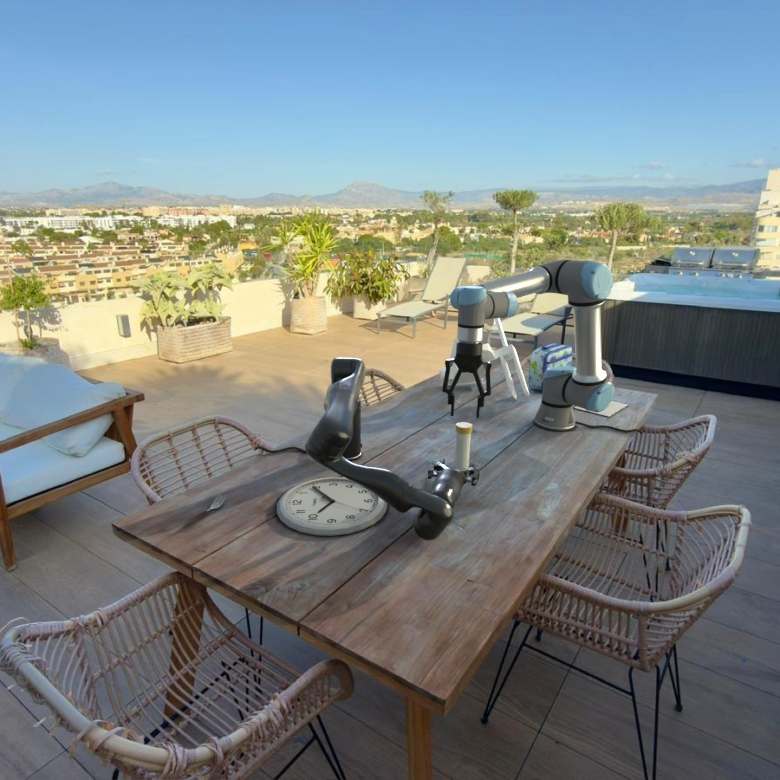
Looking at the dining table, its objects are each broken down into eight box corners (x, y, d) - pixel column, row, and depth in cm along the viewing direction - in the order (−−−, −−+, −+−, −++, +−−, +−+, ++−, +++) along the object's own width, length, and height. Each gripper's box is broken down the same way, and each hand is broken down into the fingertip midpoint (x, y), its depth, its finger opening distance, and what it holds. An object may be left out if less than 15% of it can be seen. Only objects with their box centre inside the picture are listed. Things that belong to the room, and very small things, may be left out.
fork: (178, 529, 130) (177, 522, 129) (219, 499, 144) (218, 493, 144) (187, 531, 129) (186, 524, 129) (227, 501, 143) (226, 494, 143)
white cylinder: (462, 476, 160) (465, 429, 156) (451, 472, 163) (454, 426, 159) (470, 472, 163) (474, 426, 159) (460, 468, 166) (462, 422, 161)
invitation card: (608, 416, 214) (573, 407, 224) (608, 416, 214) (573, 408, 224) (628, 404, 229) (594, 396, 238) (628, 405, 229) (594, 397, 238)
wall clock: (392, 527, 129) (268, 531, 127) (391, 533, 130) (269, 537, 127) (383, 473, 158) (282, 475, 155) (383, 478, 158) (282, 480, 156)
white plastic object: (461, 429, 252) (437, 405, 227) (444, 352, 274) (420, 323, 250) (535, 404, 240) (518, 377, 215) (510, 326, 262) (492, 293, 237)
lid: (465, 435, 156) (466, 429, 155) (452, 430, 159) (452, 424, 158) (475, 431, 159) (475, 425, 159) (462, 426, 162) (462, 420, 162)
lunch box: (544, 395, 239) (549, 351, 233) (524, 390, 247) (528, 347, 240) (571, 384, 257) (577, 343, 251) (552, 380, 264) (556, 339, 258)
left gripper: (474, 479, 137) (482, 454, 151) (421, 471, 141) (434, 448, 155) (472, 504, 139) (481, 478, 154) (420, 496, 143) (433, 471, 158)
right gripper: (504, 340, 152) (498, 414, 159) (437, 336, 156) (433, 409, 163) (504, 345, 145) (498, 423, 152) (433, 341, 149) (430, 417, 156)
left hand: (457, 463), depth 155 cm, fingers open, 8 cm apart
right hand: (464, 415), depth 158 cm, fingers open, 7 cm apart
